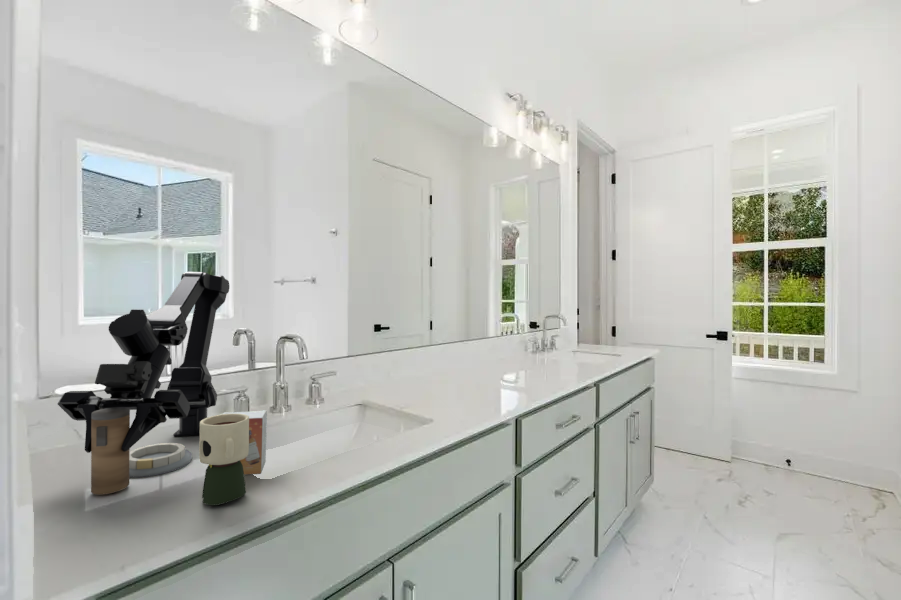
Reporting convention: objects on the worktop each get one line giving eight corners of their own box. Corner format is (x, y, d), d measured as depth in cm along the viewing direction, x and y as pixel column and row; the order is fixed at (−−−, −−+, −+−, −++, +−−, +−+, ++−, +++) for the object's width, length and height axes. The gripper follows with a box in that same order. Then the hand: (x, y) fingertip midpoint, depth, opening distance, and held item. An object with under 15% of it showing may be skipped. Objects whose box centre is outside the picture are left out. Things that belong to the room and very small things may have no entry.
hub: (134, 455, 88) (134, 442, 88) (199, 451, 90) (200, 439, 90) (102, 480, 76) (102, 465, 76) (178, 474, 79) (178, 460, 79)
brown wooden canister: (101, 482, 74) (101, 407, 74) (134, 479, 75) (135, 406, 75) (81, 497, 68) (82, 416, 68) (118, 494, 70) (119, 415, 69)
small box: (213, 478, 78) (214, 419, 77) (221, 466, 83) (222, 411, 83) (262, 474, 80) (262, 417, 80) (266, 462, 85) (267, 409, 85)
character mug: (195, 492, 72) (196, 414, 72) (242, 482, 76) (243, 408, 76) (202, 520, 63) (203, 432, 63) (254, 507, 67) (255, 424, 67)
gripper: (65, 344, 74) (10, 428, 63) (183, 344, 77) (149, 425, 66) (96, 380, 82) (51, 461, 71) (201, 379, 85) (173, 457, 74)
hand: (105, 451), depth 70 cm, fingers closed on brown wooden canister, 5 cm apart
